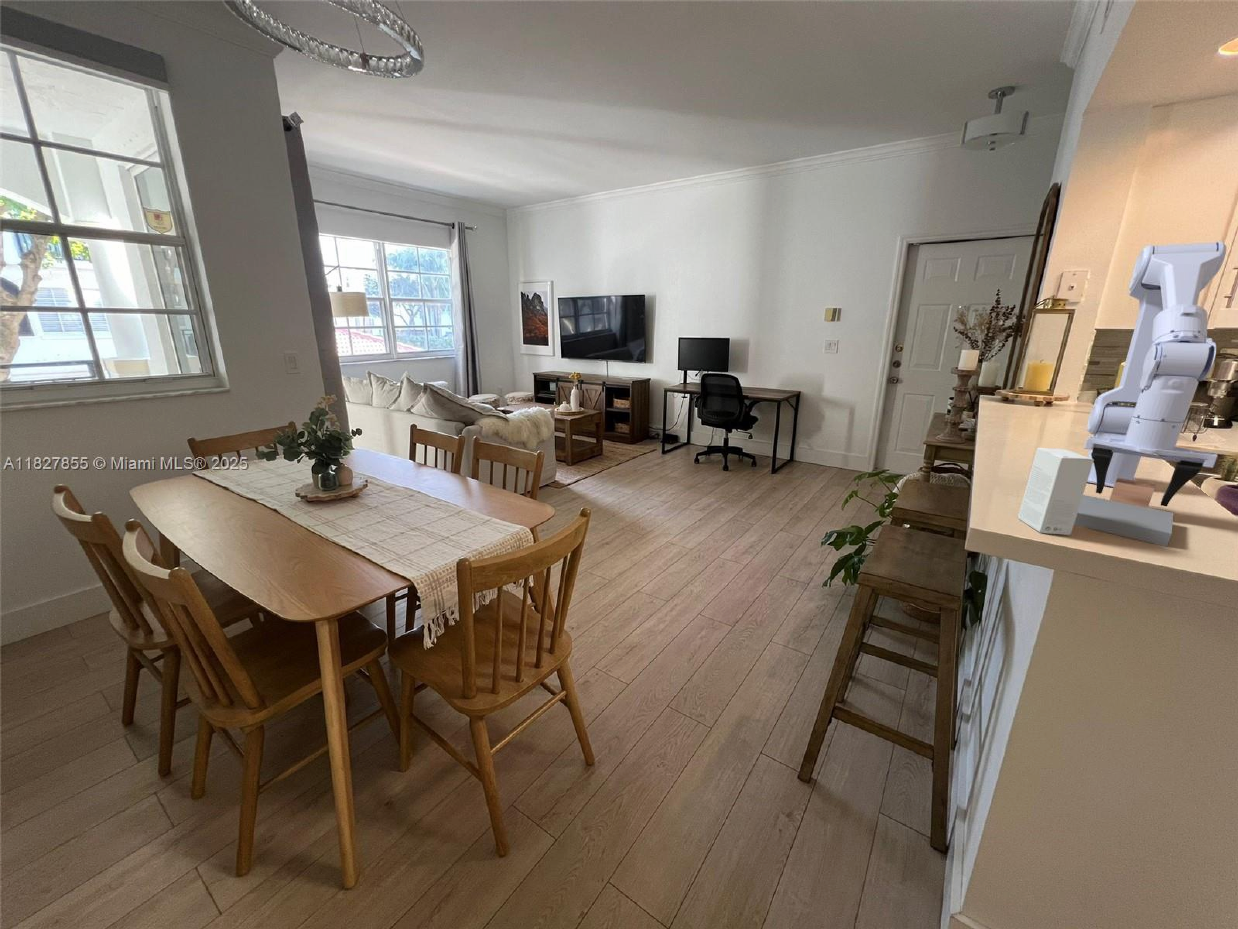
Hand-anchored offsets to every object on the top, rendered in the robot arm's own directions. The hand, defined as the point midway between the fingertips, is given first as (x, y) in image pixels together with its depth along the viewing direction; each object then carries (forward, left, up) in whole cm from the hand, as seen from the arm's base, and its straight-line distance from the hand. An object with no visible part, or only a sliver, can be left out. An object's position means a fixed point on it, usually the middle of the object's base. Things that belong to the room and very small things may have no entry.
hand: (1130, 498), depth 81 cm
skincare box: (+20, -8, -3) cm, 22 cm away
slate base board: (+9, -1, -2) cm, 9 cm away
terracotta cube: (0, 0, -2) cm, 2 cm away
